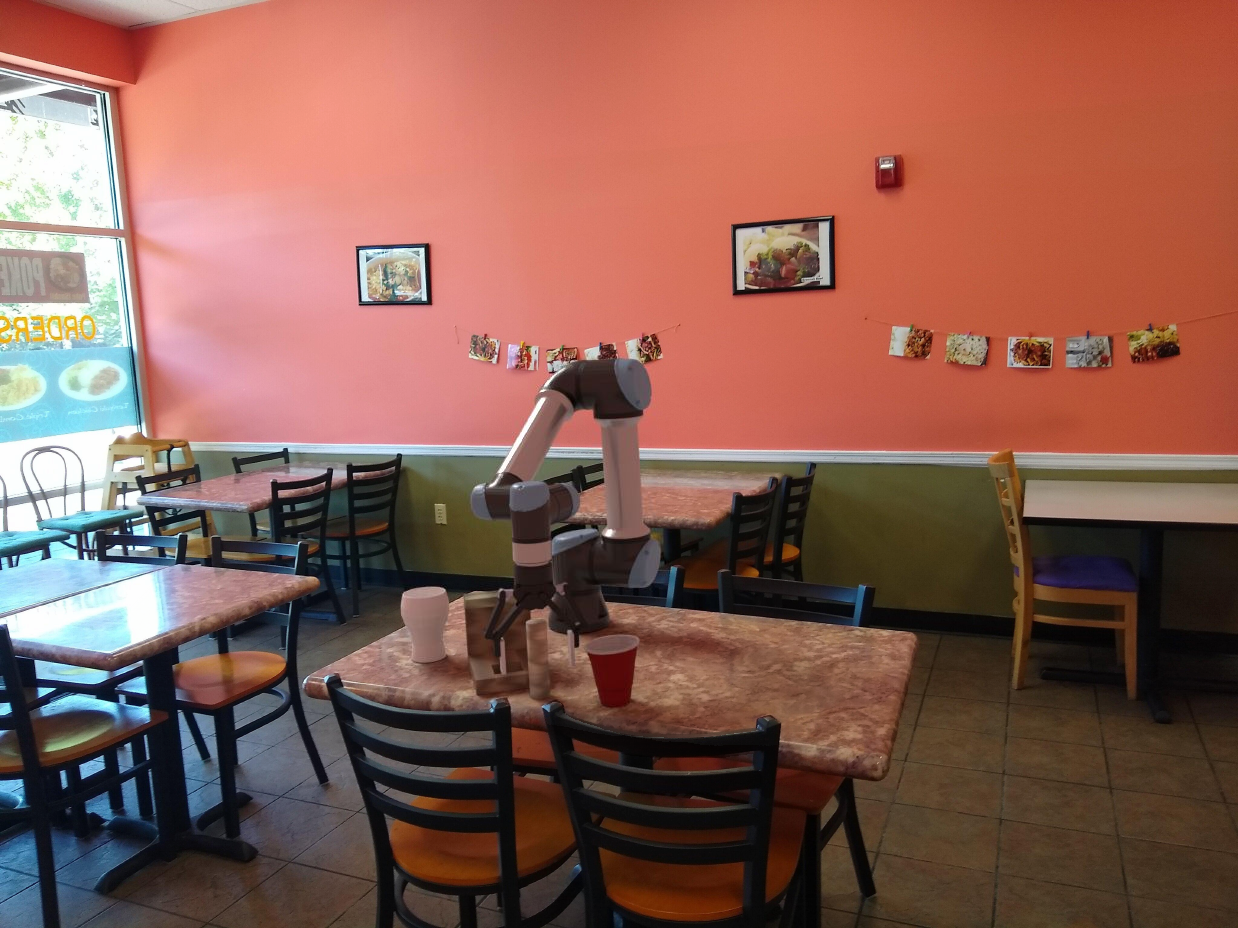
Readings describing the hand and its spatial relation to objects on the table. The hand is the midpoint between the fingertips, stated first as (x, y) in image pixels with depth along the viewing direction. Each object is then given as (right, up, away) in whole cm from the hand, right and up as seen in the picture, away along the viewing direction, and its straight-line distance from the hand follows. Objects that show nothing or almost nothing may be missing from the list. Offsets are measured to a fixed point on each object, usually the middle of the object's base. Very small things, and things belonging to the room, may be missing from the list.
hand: (538, 668), depth 180 cm
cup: (-27, -4, +27) cm, 38 cm away
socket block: (-8, -4, +13) cm, 16 cm away
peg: (0, -6, +1) cm, 6 cm away
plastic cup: (+15, -6, -3) cm, 16 cm away
